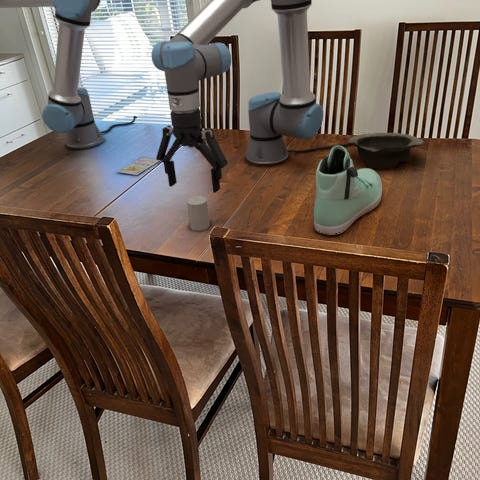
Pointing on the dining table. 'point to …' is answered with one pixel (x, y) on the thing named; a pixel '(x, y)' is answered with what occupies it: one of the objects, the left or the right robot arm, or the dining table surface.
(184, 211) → the dining table surface
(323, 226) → the sneaker
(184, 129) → the right robot arm
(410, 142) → the stone bowl
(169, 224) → the dining table surface
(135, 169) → the baking ingredient package
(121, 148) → the dining table surface
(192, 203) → the canister
